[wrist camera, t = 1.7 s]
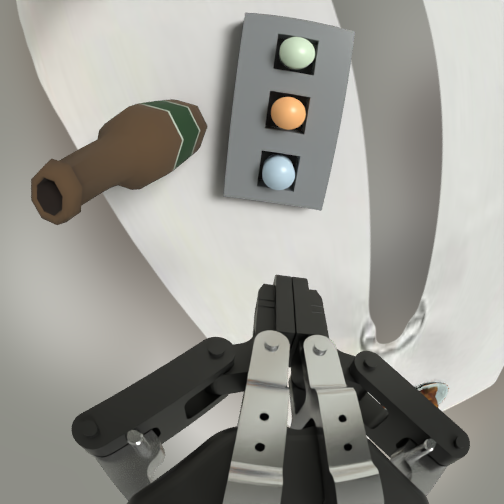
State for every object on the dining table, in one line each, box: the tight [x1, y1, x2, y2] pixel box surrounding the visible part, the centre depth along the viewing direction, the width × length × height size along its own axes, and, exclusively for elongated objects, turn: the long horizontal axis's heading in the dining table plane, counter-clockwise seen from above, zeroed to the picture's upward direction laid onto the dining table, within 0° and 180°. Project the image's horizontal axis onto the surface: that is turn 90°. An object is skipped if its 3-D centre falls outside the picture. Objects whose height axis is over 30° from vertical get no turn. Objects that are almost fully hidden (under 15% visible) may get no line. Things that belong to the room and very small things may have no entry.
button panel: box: [224, 13, 355, 210], centre depth 29 cm, size 22×12×3 cm, turn 173°
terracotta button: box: [271, 97, 306, 130], centre depth 27 cm, size 4×4×3 cm
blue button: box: [262, 154, 295, 190], centre depth 31 cm, size 4×4×3 cm
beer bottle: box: [31, 100, 207, 225], centre depth 22 cm, size 8×8×24 cm
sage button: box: [279, 37, 315, 70], centre depth 24 cm, size 4×4×3 cm
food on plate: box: [383, 383, 449, 410], centre depth 64 cm, size 26×25×7 cm
